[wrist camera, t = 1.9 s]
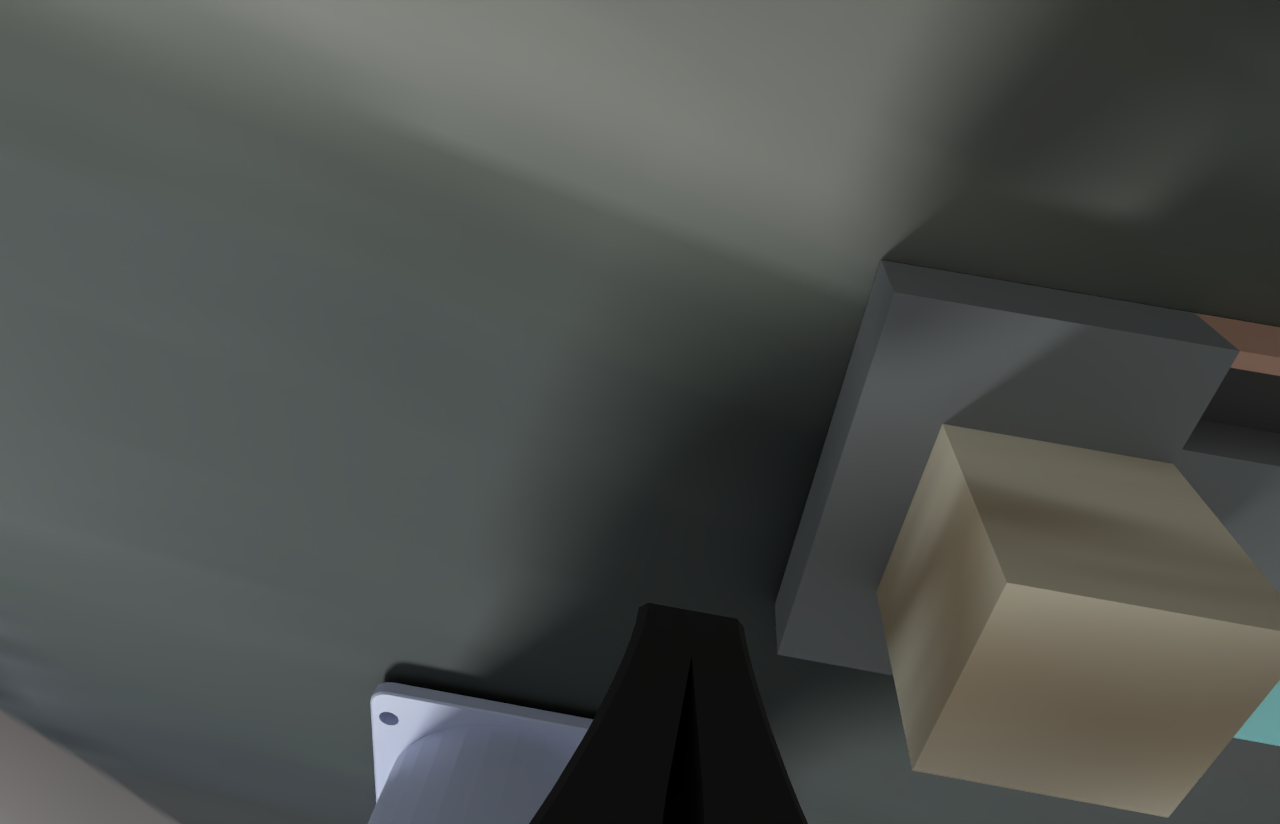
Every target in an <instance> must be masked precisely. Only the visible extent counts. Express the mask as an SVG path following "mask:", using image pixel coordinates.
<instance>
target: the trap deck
mask: <svg viewBox="0 0 1280 824" xmlns="http://www.w3.org/2000/svg"><path fill="white" fill-rule="evenodd" d="M942 424H946V425H952V426H958V427H963V428H969V429H975V430H981V431H987V432H992V433H998V434H1004V435H1010V436H1015V437H1021V438H1027V439H1033V440H1038V441H1044V442H1050V443H1056V444H1061V445H1067V446H1073V447H1079V448H1084V449H1090V450H1096V451H1102V452H1107V453H1113V454H1119V455H1125V456H1130V457H1136V458H1142V459H1148V460H1153V461H1159V462H1165V463H1171V464H1174V465H1175V466H1176V468H1177V469H1178V470H1179V471H1180V473H1181V474H1182V475H1183V476H1184V478H1185V479H1186V480H1187V481H1188V482H1189V484H1190V485H1191V486H1192V487H1193V489H1194V490H1195V491H1196V492H1197V494H1198V495H1199V496H1200V497H1201V498H1202V500H1203V501H1204V502H1205V503H1206V505H1207V506H1208V507H1209V508H1210V510H1211V511H1212V512H1213V513H1214V514H1215V516H1216V517H1217V518H1218V519H1219V521H1220V522H1221V523H1222V524H1223V525H1224V527H1225V528H1226V529H1227V530H1228V532H1229V533H1230V534H1231V535H1232V537H1233V538H1234V539H1235V540H1236V541H1237V543H1238V544H1239V545H1240V546H1241V548H1242V549H1243V550H1244V551H1245V553H1246V554H1247V555H1248V556H1249V557H1250V559H1251V560H1252V561H1253V562H1254V564H1255V565H1256V566H1257V567H1258V569H1259V570H1260V571H1261V572H1262V573H1263V575H1264V576H1265V577H1266V578H1267V580H1268V581H1269V582H1270V583H1271V585H1272V586H1273V587H1274V588H1275V589H1276V591H1277V592H1278V593H1279V594H1280V327H1275V326H1269V325H1263V324H1258V323H1252V322H1246V321H1240V320H1234V319H1228V318H1222V317H1216V316H1210V315H1204V314H1198V313H1192V312H1186V311H1181V310H1175V309H1169V308H1163V307H1157V306H1151V305H1145V304H1139V303H1133V302H1127V301H1121V300H1115V299H1110V298H1104V297H1098V296H1092V295H1086V294H1080V293H1074V292H1068V291H1062V290H1056V289H1050V288H1044V287H1038V286H1033V285H1027V284H1021V283H1015V282H1009V281H1003V280H997V279H991V278H985V277H979V276H973V275H967V274H962V273H956V272H950V271H944V270H938V269H932V268H926V267H920V266H914V265H908V264H902V263H896V262H890V261H885V260H881V261H880V264H879V267H878V270H877V274H876V277H875V280H874V283H873V287H872V290H871V293H870V296H869V300H868V303H867V306H866V310H865V313H864V316H863V319H862V323H861V326H860V329H859V332H858V336H857V339H856V342H855V345H854V349H853V352H852V355H851V358H850V362H849V365H848V368H847V371H846V375H845V378H844V381H843V384H842V388H841V391H840V394H839V397H838V401H837V404H836V407H835V410H834V414H833V417H832V420H831V423H830V427H829V430H828V433H827V436H826V440H825V443H824V446H823V449H822V453H821V456H820V459H819V462H818V466H817V469H816V472H815V475H814V479H813V482H812V485H811V489H810V492H809V495H808V498H807V502H806V505H805V508H804V511H803V515H802V518H801V521H800V524H799V528H798V531H797V534H796V537H795V541H794V544H793V547H792V550H791V554H790V557H789V560H788V563H787V567H786V570H785V573H784V576H783V580H782V583H781V586H780V589H779V593H778V596H777V599H776V602H775V620H776V641H777V655H782V656H788V657H793V658H799V659H804V660H810V661H815V662H821V663H826V664H832V665H837V666H843V667H848V668H854V669H859V670H865V671H870V672H876V673H881V674H887V675H892V676H893V672H892V667H891V663H890V658H889V653H888V648H887V643H886V638H885V633H884V628H883V623H882V618H881V613H880V608H879V603H878V598H877V593H876V591H877V589H878V586H879V584H880V581H881V579H882V576H883V574H884V571H885V569H886V566H887V564H888V561H889V558H890V556H891V553H892V551H893V548H894V546H895V543H896V541H897V538H898V536H899V533H900V530H901V528H902V525H903V523H904V520H905V518H906V515H907V513H908V510H909V508H910V505H911V503H912V500H913V497H914V495H915V492H916V490H917V487H918V485H919V482H920V480H921V477H922V475H923V472H924V469H925V467H926V464H927V462H928V459H929V457H930V454H931V452H932V449H933V447H934V444H935V442H936V439H937V436H938V434H939V431H940V429H941V426H942ZM1233 738H1239V739H1244V740H1250V741H1255V742H1261V743H1266V744H1272V745H1277V746H1280V680H1279V682H1278V683H1277V684H1276V685H1275V687H1274V688H1273V689H1272V690H1271V691H1270V693H1269V694H1268V695H1267V696H1266V698H1265V699H1264V700H1263V701H1262V703H1261V704H1260V705H1259V706H1258V707H1257V709H1256V710H1255V711H1254V712H1253V714H1252V715H1251V716H1250V717H1249V718H1248V720H1247V721H1246V722H1245V723H1244V725H1243V726H1242V727H1241V728H1240V730H1239V731H1238V732H1237V733H1236V734H1235V736H1234V737H1233Z"/></svg>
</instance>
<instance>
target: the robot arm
mask: <svg viewBox="0 0 1280 824" xmlns="http://www.w3.org/2000/svg"><path fill="white" fill-rule="evenodd" d="M370 704H371V721H372V738H373V755H374V771H375V788H376V806H375V808H374V811H373V813H372V815H371V818H370V820H369V822H368V824H808V823H807V821H806V818H805V816H804V814H803V811H802V809H801V807H800V804H799V802H798V799H797V797H796V794H795V792H794V789H793V787H792V784H791V782H790V779H789V777H788V774H787V771H786V769H785V766H784V763H783V760H782V758H781V755H780V752H779V749H778V747H777V744H776V741H775V738H774V736H773V733H772V730H771V727H770V724H769V721H768V718H767V715H766V712H765V709H764V706H763V703H762V699H761V696H760V693H759V689H758V686H757V683H756V679H755V676H754V672H753V668H752V665H751V661H750V657H749V652H748V648H747V644H746V639H745V634H744V628H743V626H742V625H741V623H740V622H739V621H738V620H737V619H734V618H729V617H723V616H718V615H712V614H707V613H701V612H696V611H690V610H685V609H679V608H674V607H668V606H663V605H657V604H652V603H647V604H645V605H643V606H641V607H639V611H638V615H637V620H636V624H635V627H634V631H633V634H632V637H631V640H630V642H629V645H628V648H627V650H626V653H625V655H624V658H623V660H622V662H621V665H620V667H619V669H618V671H617V673H616V676H615V678H614V680H613V682H612V684H611V686H610V688H609V690H608V692H607V694H606V696H605V698H604V700H603V702H602V704H601V706H600V708H599V709H598V711H597V713H596V715H595V717H594V719H589V718H583V717H578V716H572V715H567V714H562V713H556V712H551V711H545V710H540V709H535V708H529V707H524V706H518V705H513V704H508V703H502V702H497V701H491V700H486V699H480V698H475V697H470V696H464V695H459V694H453V693H448V692H443V691H437V690H432V689H426V688H421V687H416V686H410V685H405V684H399V683H394V682H385V683H382V684H379V685H378V686H377V687H376V688H375V690H374V693H373V695H372V697H371V701H370Z"/></svg>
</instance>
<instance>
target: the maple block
mask: <svg viewBox="0 0 1280 824" xmlns="http://www.w3.org/2000/svg"><path fill="white" fill-rule="evenodd" d="M876 593H877V598H878V603H879V608H880V613H881V618H882V623H883V628H884V633H885V638H886V643H887V648H888V653H889V658H890V663H891V667H892V672H893V677H894V682H895V687H896V692H897V697H898V702H899V707H900V712H901V717H902V722H903V727H904V732H905V737H906V742H907V747H908V752H909V757H910V762H911V767H912V770H913V771H919V772H924V773H929V774H935V775H940V776H946V777H951V778H957V779H962V780H967V781H973V782H978V783H984V784H989V785H994V786H1000V787H1005V788H1011V789H1016V790H1021V791H1027V792H1032V793H1038V794H1043V795H1049V796H1054V797H1059V798H1065V799H1070V800H1076V801H1081V802H1086V803H1092V804H1097V805H1103V806H1108V807H1114V808H1119V809H1124V810H1130V811H1135V812H1141V813H1146V814H1151V815H1157V816H1162V817H1169V816H1170V814H1171V813H1172V812H1173V811H1174V810H1175V808H1176V807H1177V806H1178V805H1179V803H1180V802H1181V801H1182V800H1183V798H1184V797H1185V796H1186V795H1187V794H1188V792H1189V791H1190V790H1191V789H1192V787H1193V786H1194V785H1195V784H1196V782H1197V781H1198V780H1199V779H1200V778H1201V776H1202V775H1203V774H1204V773H1205V771H1206V770H1207V769H1208V768H1209V766H1210V765H1211V764H1212V763H1213V762H1214V760H1215V759H1216V758H1217V757H1218V755H1219V754H1220V753H1221V752H1222V750H1223V749H1224V748H1225V747H1226V746H1227V744H1228V743H1229V742H1230V741H1231V739H1232V738H1233V737H1234V736H1235V734H1236V733H1237V732H1238V731H1239V730H1240V728H1241V727H1242V726H1243V725H1244V723H1245V722H1246V721H1247V720H1248V718H1249V717H1250V716H1251V715H1252V714H1253V712H1254V711H1255V710H1256V709H1257V707H1258V706H1259V705H1260V704H1261V703H1262V701H1263V700H1264V699H1265V698H1266V696H1267V695H1268V694H1269V693H1270V691H1271V690H1272V689H1273V688H1274V687H1275V685H1276V684H1277V683H1278V682H1279V680H1280V594H1279V593H1278V592H1277V591H1276V589H1275V588H1274V587H1273V586H1272V585H1271V583H1270V582H1269V581H1268V580H1267V578H1266V577H1265V576H1264V575H1263V573H1262V572H1261V571H1260V570H1259V569H1258V567H1257V566H1256V565H1255V564H1254V562H1253V561H1252V560H1251V559H1250V557H1249V556H1248V555H1247V554H1246V553H1245V551H1244V550H1243V549H1242V548H1241V546H1240V545H1239V544H1238V543H1237V541H1236V540H1235V539H1234V538H1233V537H1232V535H1231V534H1230V533H1229V532H1228V530H1227V529H1226V528H1225V527H1224V525H1223V524H1222V523H1221V522H1220V521H1219V519H1218V518H1217V517H1216V516H1215V514H1214V513H1213V512H1212V511H1211V510H1210V508H1209V507H1208V506H1207V505H1206V503H1205V502H1204V501H1203V500H1202V498H1201V497H1200V496H1199V495H1198V494H1197V492H1196V491H1195V490H1194V489H1193V487H1192V486H1191V485H1190V484H1189V482H1188V481H1187V480H1186V479H1185V478H1184V476H1183V475H1182V474H1181V473H1180V471H1179V470H1178V469H1177V468H1176V466H1175V465H1174V464H1171V463H1165V462H1159V461H1153V460H1148V459H1142V458H1136V457H1130V456H1125V455H1119V454H1113V453H1107V452H1102V451H1096V450H1090V449H1084V448H1079V447H1073V446H1067V445H1061V444H1056V443H1050V442H1044V441H1038V440H1033V439H1027V438H1021V437H1015V436H1010V435H1004V434H998V433H992V432H987V431H981V430H975V429H969V428H963V427H958V426H952V425H946V424H942V426H941V429H940V431H939V434H938V436H937V439H936V442H935V444H934V447H933V449H932V452H931V454H930V457H929V459H928V462H927V464H926V467H925V469H924V472H923V475H922V477H921V480H920V482H919V485H918V487H917V490H916V492H915V495H914V497H913V500H912V503H911V505H910V508H909V510H908V513H907V515H906V518H905V520H904V523H903V525H902V528H901V530H900V533H899V536H898V538H897V541H896V543H895V546H894V548H893V551H892V553H891V556H890V558H889V561H888V564H887V566H886V569H885V571H884V574H883V576H882V579H881V581H880V584H879V586H878V589H877V591H876Z"/></svg>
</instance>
